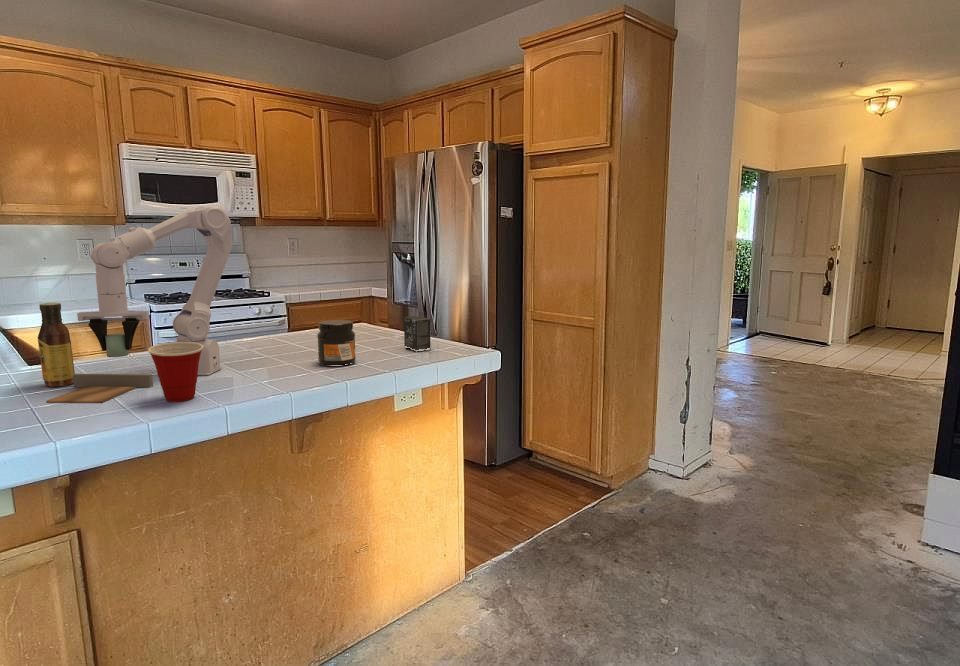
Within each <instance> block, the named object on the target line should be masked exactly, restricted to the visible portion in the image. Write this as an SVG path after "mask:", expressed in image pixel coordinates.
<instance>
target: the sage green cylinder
mask: <svg viewBox="0 0 960 666" xmlns="http://www.w3.org/2000/svg"><path fill="white" fill-rule="evenodd" d="M105 341H106V351H105V352H106V357H107V358H122V357H126V356H129V350H126V347H125V334H124V333H111V334H107V335H106V336H105Z"/></svg>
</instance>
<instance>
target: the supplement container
mask: <svg viewBox="0 0 960 666" xmlns="http://www.w3.org/2000/svg"><path fill="white" fill-rule="evenodd" d="M353 329H354V322H353V321H351V320H346V319H332V320H329V319H328V320H324V321H319V322H318V330H319V331H318V333H317V335H316V337H317V350H318V351H317V352H318V353H317V354H318V357H317V359H318V363H319V364H320V365H321V364H323V365H322V366H324V365H345V364H350V363H353V362H354V363H355V362H356V358H357V357H356V333H355V331H354V330H353ZM354 363H353V364H354ZM350 365H351V364H350Z"/></svg>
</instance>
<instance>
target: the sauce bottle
mask: <svg viewBox="0 0 960 666" xmlns="http://www.w3.org/2000/svg"><path fill="white" fill-rule="evenodd" d="M38 306H39V311H40V314H41V324H40V325H41V326H40V327H39V333H38V335H37V344H38V352H39V358H40V365H41V373H42V380H43V382H44V385H45V386H46V387H47V388H59V387H66V386H70V385H72V384H73V385H74V380H73V375H74V374H76V371H75V364H74V356H73V347H72V340H71V336H70V335H71V334H70V330H69V328H68V327H67V326H66V325H65V324H64V322H63V319H62V311H61V310H62V303H60V302H45V303H40V304H39V305H38Z"/></svg>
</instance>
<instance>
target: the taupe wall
mask: <svg viewBox="0 0 960 666" xmlns="http://www.w3.org/2000/svg"><path fill="white" fill-rule="evenodd" d="M73 380H74V383H73V387H74V388H81V387H84V386H91V387H135V388H152V387H154V381H153V373H75V374H74V375H73Z"/></svg>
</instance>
